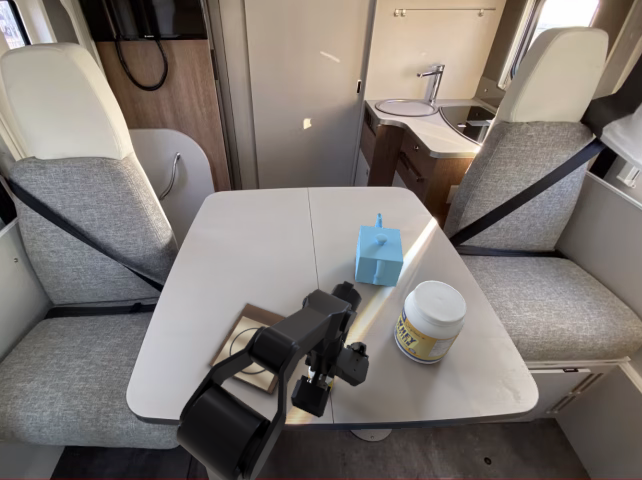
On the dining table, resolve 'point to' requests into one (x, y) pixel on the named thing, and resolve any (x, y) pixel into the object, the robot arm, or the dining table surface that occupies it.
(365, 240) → the teapot
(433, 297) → the supplement tub
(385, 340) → the dining table surface
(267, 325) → the drawing board
